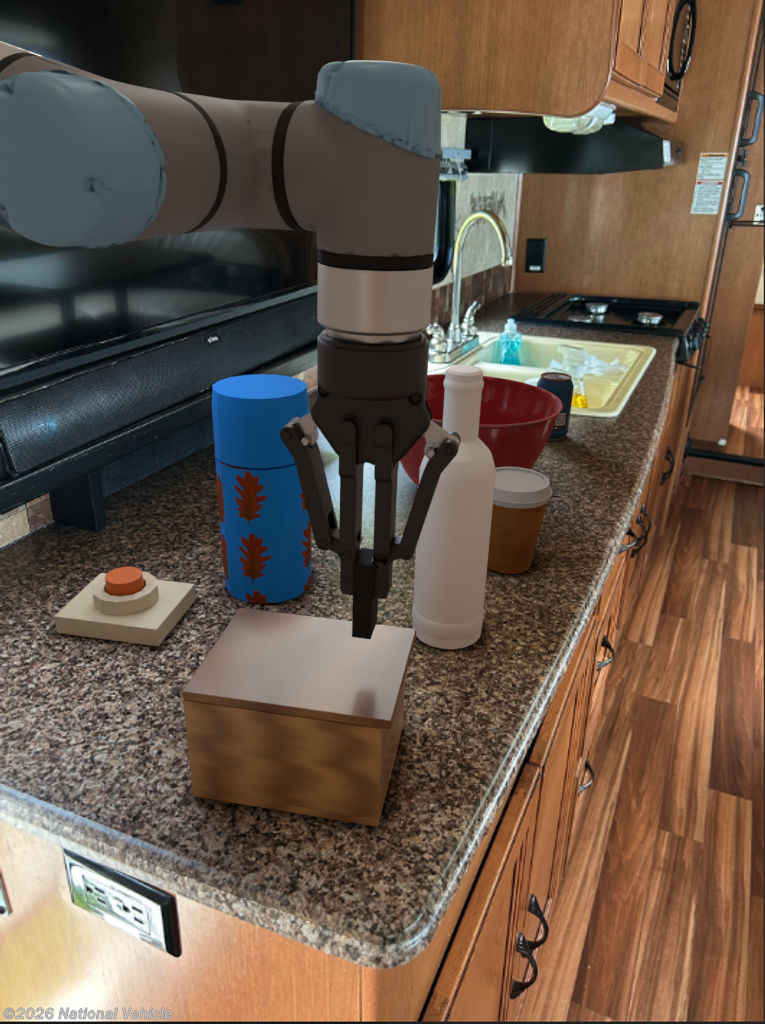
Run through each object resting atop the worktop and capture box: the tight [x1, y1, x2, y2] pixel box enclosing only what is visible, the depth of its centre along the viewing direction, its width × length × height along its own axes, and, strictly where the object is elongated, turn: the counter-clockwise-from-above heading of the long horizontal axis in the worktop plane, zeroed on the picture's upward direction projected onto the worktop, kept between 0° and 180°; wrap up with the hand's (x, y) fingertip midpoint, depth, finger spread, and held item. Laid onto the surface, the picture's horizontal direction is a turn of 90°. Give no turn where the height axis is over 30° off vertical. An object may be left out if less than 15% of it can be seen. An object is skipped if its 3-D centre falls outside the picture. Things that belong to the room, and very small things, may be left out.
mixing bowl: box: [399, 373, 563, 487], centre depth 122 cm, size 28×28×16 cm
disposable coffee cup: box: [487, 467, 553, 575], centre depth 100 cm, size 10×10×12 cm
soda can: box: [536, 371, 575, 442], centre depth 148 cm, size 7×7×12 cm
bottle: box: [411, 364, 496, 650], centre depth 81 cm, size 8×8×30 cm
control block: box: [53, 571, 197, 647], centre depth 87 cm, size 12×10×4 cm
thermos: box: [211, 373, 313, 605], centre depth 91 cm, size 11×11×25 cm
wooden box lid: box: [181, 607, 417, 729], centre depth 64 cm, size 16×13×1 cm
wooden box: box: [182, 679, 406, 828], centre depth 66 cm, size 16×13×10 cm
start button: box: [105, 566, 144, 596], centre depth 86 cm, size 4×4×2 cm
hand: (364, 628), depth 61 cm, fingers closed
